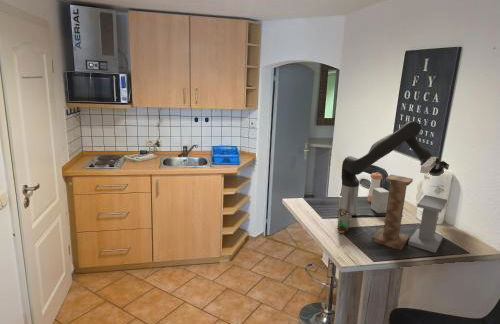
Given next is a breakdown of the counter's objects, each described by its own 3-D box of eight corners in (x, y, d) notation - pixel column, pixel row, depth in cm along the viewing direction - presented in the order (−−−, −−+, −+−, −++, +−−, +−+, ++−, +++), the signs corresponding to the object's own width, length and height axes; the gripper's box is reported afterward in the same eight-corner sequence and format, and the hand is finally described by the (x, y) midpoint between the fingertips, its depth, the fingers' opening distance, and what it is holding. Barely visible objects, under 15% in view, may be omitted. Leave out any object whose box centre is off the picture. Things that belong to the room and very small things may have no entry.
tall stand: (371, 240, 170) (379, 178, 161) (380, 231, 180) (388, 172, 172) (401, 250, 162) (411, 185, 153) (409, 239, 172) (418, 178, 164)
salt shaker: (370, 197, 228) (374, 169, 223) (381, 201, 223) (385, 172, 218) (365, 200, 223) (368, 172, 218) (375, 203, 218) (379, 174, 213)
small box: (387, 212, 205) (390, 191, 201) (377, 213, 203) (380, 192, 200) (379, 207, 212) (382, 187, 209) (370, 208, 211) (372, 187, 208)
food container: (350, 236, 174) (353, 218, 171) (338, 235, 175) (340, 216, 172) (349, 226, 185) (351, 208, 183) (337, 224, 186) (339, 207, 184)
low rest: (408, 244, 167) (414, 203, 162) (417, 231, 181) (423, 193, 176) (435, 252, 160) (443, 210, 155) (442, 238, 174) (450, 199, 168)
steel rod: (420, 172, 159) (421, 166, 159) (430, 162, 178) (431, 156, 177) (427, 173, 158) (428, 167, 157) (437, 163, 176) (438, 157, 175)
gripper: (423, 160, 190) (419, 149, 177) (452, 165, 182) (450, 154, 169) (419, 173, 189) (415, 163, 175) (448, 178, 181) (446, 168, 167)
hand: (432, 159), depth 172 cm, fingers closed on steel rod, 3 cm apart
